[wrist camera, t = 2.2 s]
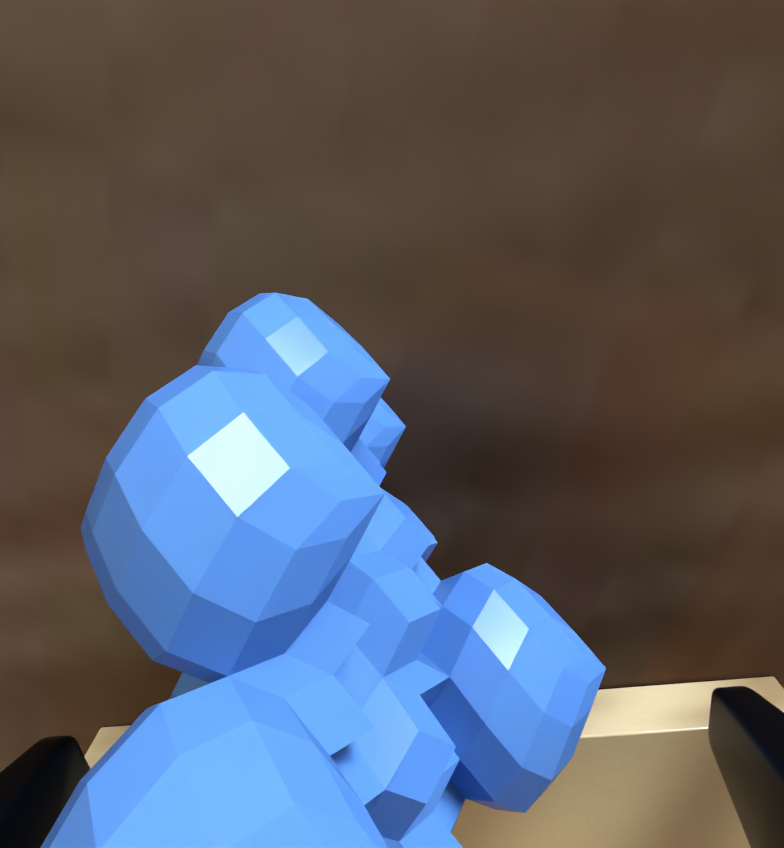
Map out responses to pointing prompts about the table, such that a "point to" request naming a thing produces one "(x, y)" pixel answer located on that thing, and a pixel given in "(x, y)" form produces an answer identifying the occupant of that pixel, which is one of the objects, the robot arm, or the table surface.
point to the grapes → (307, 620)
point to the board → (616, 778)
